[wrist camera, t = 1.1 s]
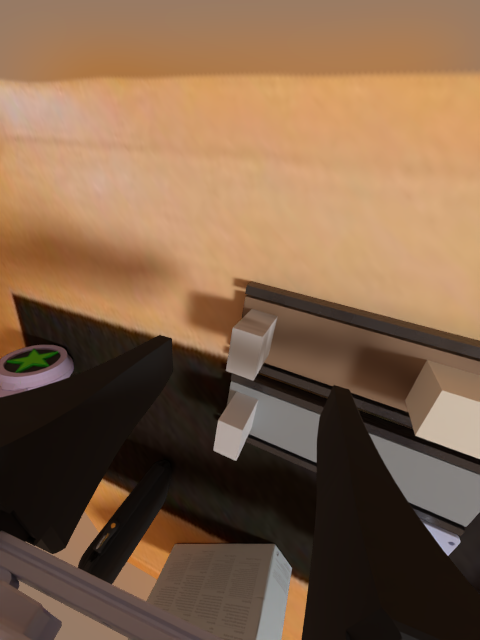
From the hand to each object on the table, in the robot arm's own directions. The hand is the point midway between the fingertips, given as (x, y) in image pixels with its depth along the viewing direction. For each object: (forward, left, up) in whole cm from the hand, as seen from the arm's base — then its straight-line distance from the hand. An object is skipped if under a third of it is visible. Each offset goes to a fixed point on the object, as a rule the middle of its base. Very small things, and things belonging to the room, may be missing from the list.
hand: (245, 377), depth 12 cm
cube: (-4, -13, -12) cm, 18 cm away
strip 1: (-4, -8, -14) cm, 16 cm away
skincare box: (-44, 0, -14) cm, 46 cm away
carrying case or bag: (-32, +12, -14) cm, 37 cm away
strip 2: (-14, -8, -14) cm, 21 cm away
